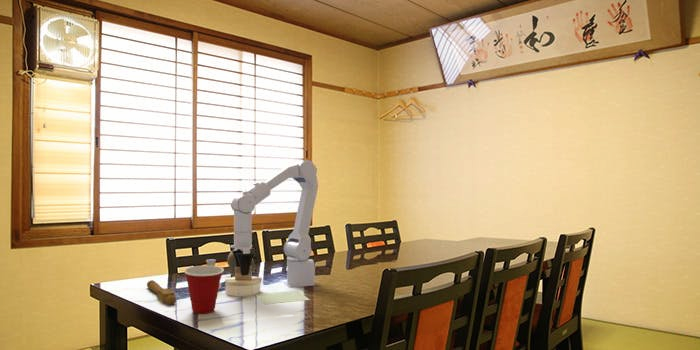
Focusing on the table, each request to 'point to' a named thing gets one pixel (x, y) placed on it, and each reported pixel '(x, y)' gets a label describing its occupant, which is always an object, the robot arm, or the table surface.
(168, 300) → the tap handle
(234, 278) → the lid
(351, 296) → the table surface
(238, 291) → the bowl
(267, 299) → the mat
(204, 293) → the plastic cup
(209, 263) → the flask
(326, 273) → the table surface
